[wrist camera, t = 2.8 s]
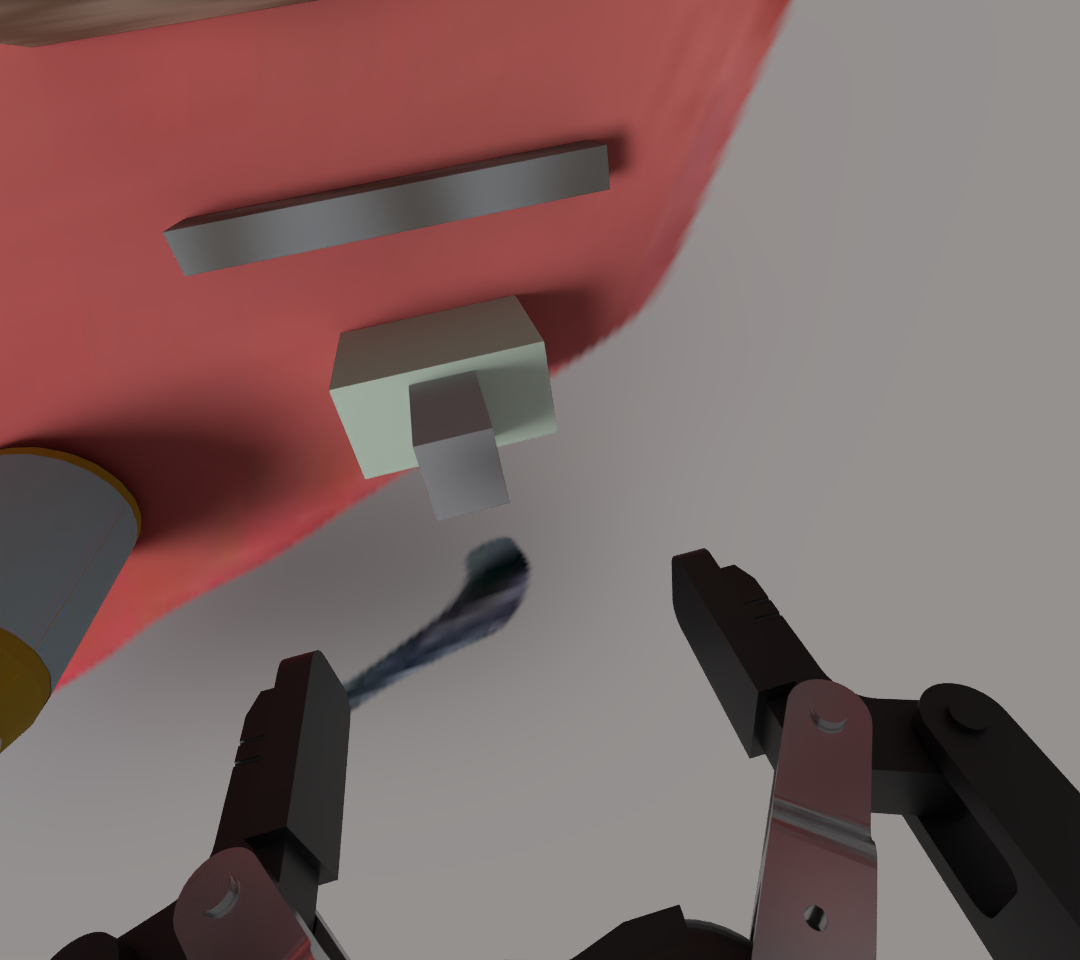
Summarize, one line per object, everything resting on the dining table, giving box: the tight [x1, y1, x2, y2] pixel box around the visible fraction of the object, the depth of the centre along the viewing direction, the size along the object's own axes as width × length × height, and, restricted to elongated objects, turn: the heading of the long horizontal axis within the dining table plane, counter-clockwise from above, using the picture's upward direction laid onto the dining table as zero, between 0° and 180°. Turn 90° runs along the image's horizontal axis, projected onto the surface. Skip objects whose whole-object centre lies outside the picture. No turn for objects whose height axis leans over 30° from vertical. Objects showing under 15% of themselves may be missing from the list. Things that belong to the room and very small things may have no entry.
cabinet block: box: [329, 295, 557, 521], centre depth 22 cm, size 8×4×10 cm, turn 99°
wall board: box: [0, 0, 610, 276], centre depth 16 cm, size 20×9×12 cm, turn 99°
